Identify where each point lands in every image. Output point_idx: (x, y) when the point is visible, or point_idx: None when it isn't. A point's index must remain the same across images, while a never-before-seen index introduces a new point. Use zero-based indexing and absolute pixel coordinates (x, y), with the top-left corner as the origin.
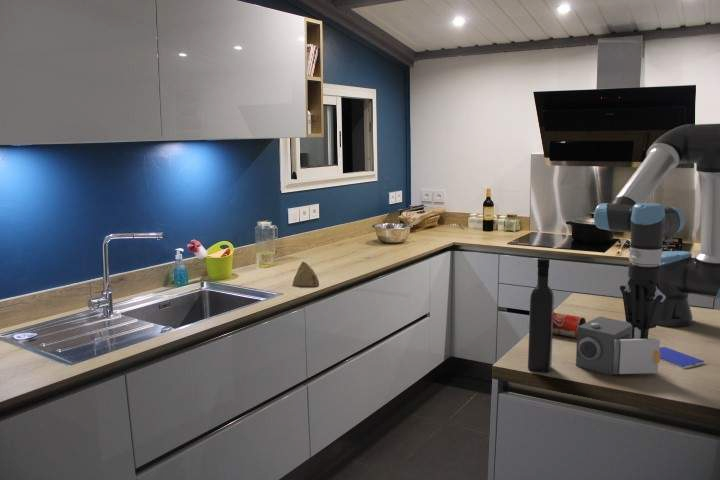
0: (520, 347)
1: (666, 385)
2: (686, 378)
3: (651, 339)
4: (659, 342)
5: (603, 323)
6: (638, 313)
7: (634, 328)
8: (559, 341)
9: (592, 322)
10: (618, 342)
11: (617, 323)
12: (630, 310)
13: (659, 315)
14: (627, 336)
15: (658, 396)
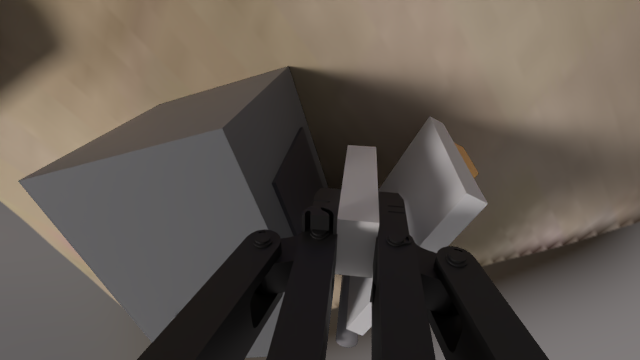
0: (61, 250)
1: (505, 160)
2: (538, 26)
3: (449, 236)
4: (481, 195)
5: (155, 265)
6: (325, 343)
7: (335, 270)
8: (11, 120)
9: (126, 288)
10: (357, 335)
11: (177, 213)
12: (242, 343)
13: (547, 358)
14: (289, 209)
15: (524, 247)
